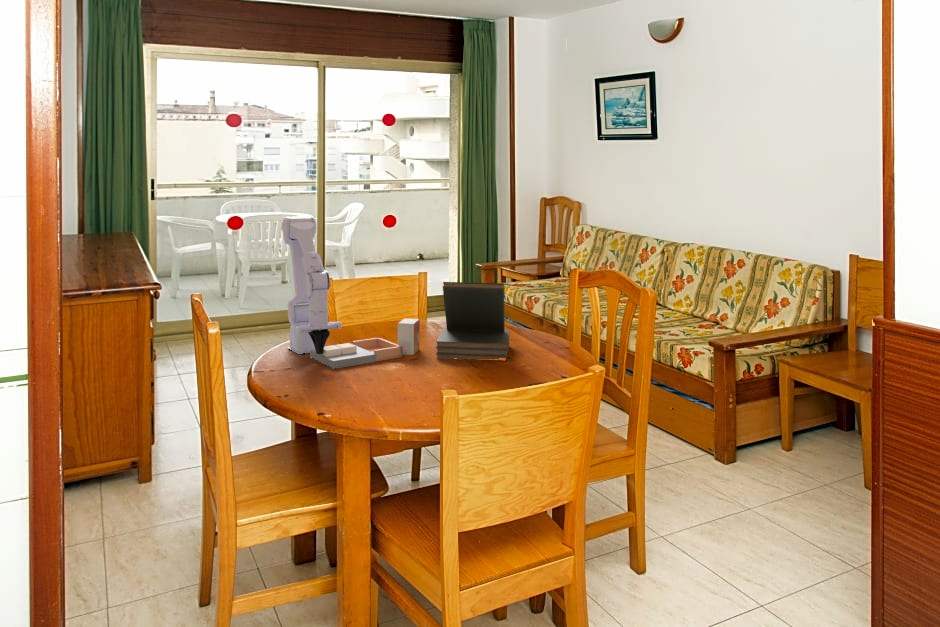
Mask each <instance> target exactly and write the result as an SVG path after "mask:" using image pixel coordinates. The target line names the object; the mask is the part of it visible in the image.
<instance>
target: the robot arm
mask: <svg viewBox="0 0 940 627" xmlns="http://www.w3.org/2000/svg"><path fill="white" fill-rule="evenodd" d="M282 233H283V234H282V236H283V237H282V238H283V240H284V244H286V245H288V246H289V249H290V254H291V264H292V273H293V283H294V292H295V295H293V297H291V298H290V299H289V301H288V302H287V319H288V322H289V323H290V327H289V346H288V347H287V350H289V349H290V350H289V351H291V350H292V351H291V352H293V353H296V354H298V355H304V354H303V353H305V354H310V350H314V349H315V350H316V353H317V354H323V350H324V347H325V346H326V343H327V340H328V338H329V336H330V334H331V333H330V331H329V330H336V329H338V330H341V329H342V322H341V321H338V320H337V321H329V308H328V307H329V304H328V301H329V300H328V296H329V295H328V291H329V290H330V288H331V287H330V286H331V278H330V274H329V271H327V269H326V268H324V265H323V261H322V258H321V255H320V254H319V253H318V252H316V249H315V243H314V238H315V235H316V234H317V221H316V218H315V217H314V216H313V215H310V216H285V217H284V218H283V220H282Z"/></svg>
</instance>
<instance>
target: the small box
mask: <svg viewBox="0 0 940 627" xmlns="http://www.w3.org/2000/svg"><path fill="white" fill-rule="evenodd" d="M420 321H421V320H420V319H419V318H403V319H402V320H400V321H399V322H398V323H397V345H400V346H402V351H403V355H407V356H408V355H411V356H414V355H415V354H416V353H417V352H418V351H419V350H420Z"/></svg>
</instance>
